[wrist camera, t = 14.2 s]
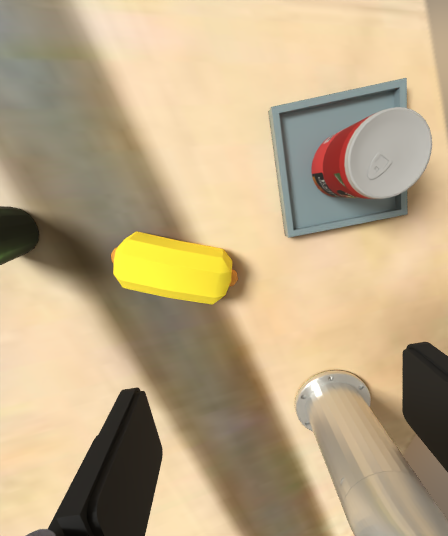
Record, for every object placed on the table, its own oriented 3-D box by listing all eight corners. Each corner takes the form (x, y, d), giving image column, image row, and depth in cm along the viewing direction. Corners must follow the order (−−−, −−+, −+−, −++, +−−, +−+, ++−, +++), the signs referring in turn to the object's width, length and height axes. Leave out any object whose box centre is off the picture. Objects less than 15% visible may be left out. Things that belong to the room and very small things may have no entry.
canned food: (300, 187, 36) (333, 184, 25) (324, 123, 34) (371, 92, 23) (352, 204, 36) (406, 210, 26) (378, 144, 34) (449, 122, 24)
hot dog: (118, 225, 38) (113, 276, 40) (97, 232, 31) (92, 292, 33) (242, 250, 39) (231, 298, 41) (247, 262, 33) (233, 318, 35)
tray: (397, 213, 38) (407, 214, 36) (285, 235, 38) (288, 237, 36) (395, 84, 33) (406, 77, 31) (268, 111, 34) (271, 107, 32)
